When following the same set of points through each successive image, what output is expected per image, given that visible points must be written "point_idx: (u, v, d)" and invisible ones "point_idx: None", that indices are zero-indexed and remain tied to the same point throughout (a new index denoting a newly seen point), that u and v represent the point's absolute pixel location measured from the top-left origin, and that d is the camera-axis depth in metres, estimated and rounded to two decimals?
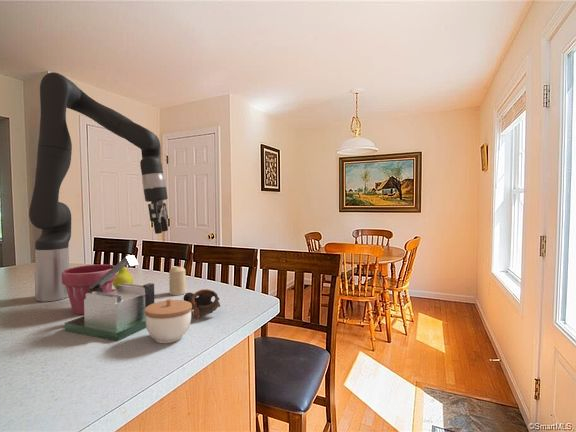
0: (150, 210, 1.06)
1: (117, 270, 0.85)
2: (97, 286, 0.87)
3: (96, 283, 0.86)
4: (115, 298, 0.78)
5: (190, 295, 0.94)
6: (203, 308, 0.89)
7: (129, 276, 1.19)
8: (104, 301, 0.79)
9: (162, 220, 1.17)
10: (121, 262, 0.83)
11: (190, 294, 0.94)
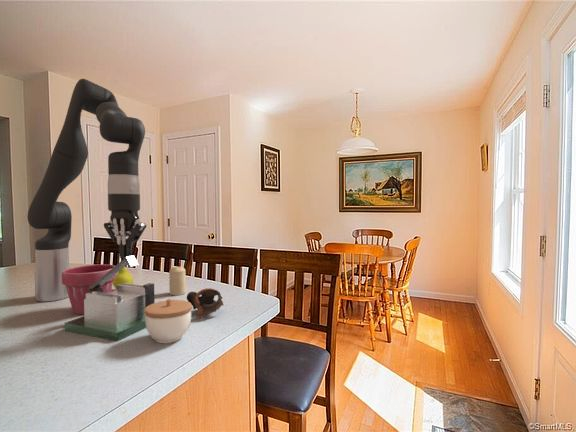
0: None
1: (117, 270, 0.85)
2: (97, 286, 0.87)
3: (96, 283, 0.86)
4: (115, 298, 0.78)
5: (193, 294, 0.95)
6: (207, 307, 0.90)
7: (129, 276, 1.19)
8: (104, 301, 0.79)
9: None
10: (121, 262, 0.83)
11: (193, 293, 0.95)
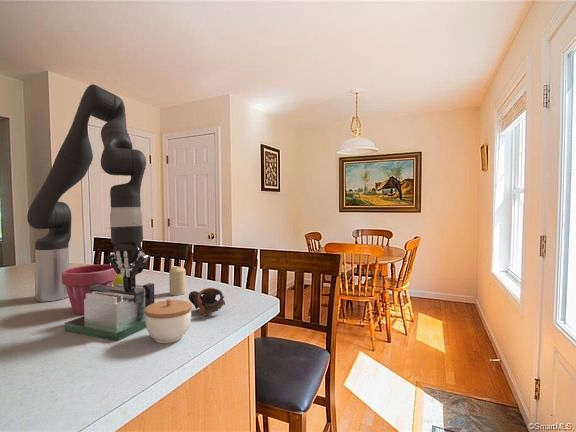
0: None
1: None
2: None
3: (98, 289, 0.86)
4: (115, 298, 0.78)
5: (195, 294, 0.95)
6: (209, 306, 0.90)
7: None
8: (104, 301, 0.79)
9: None
10: (129, 293, 0.82)
11: (195, 293, 0.96)
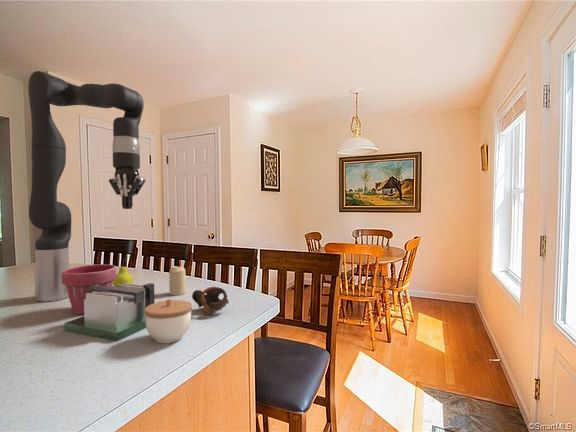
0: None
1: None
2: None
3: (98, 289, 0.86)
4: (115, 298, 0.78)
5: (199, 292, 0.97)
6: (213, 305, 0.92)
7: (129, 276, 1.19)
8: (104, 301, 0.79)
9: None
10: (129, 293, 0.82)
11: (199, 291, 0.97)
